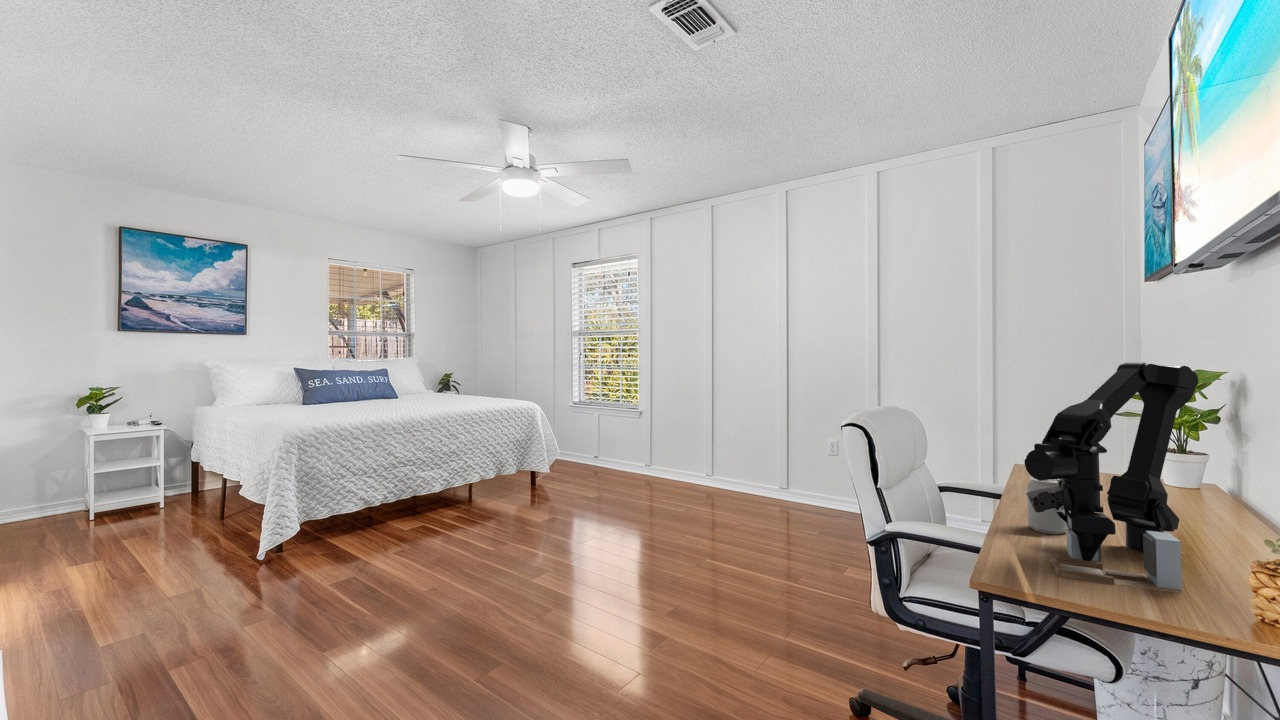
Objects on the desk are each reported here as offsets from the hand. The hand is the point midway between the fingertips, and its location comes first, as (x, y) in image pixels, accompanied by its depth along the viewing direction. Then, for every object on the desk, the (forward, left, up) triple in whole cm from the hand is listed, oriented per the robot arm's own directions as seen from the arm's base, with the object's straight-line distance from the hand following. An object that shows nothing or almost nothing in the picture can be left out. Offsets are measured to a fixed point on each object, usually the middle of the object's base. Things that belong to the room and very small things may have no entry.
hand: (1082, 557), depth 105 cm
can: (-23, -2, -2) cm, 23 cm away
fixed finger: (+10, +9, 0) cm, 13 cm away
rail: (+10, +2, -1) cm, 10 cm away
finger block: (0, 0, -1) cm, 1 cm away
